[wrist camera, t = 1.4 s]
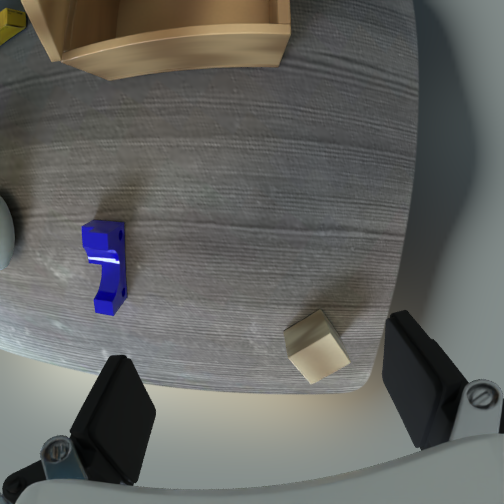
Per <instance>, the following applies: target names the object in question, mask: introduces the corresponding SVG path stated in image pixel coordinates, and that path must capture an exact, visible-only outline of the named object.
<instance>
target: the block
mask: <svg viewBox="0 0 504 504" xmlns="http://www.w3.org/2000/svg"><path fill="white" fill-rule="evenodd" d="M284 337H285V343H286V349H287V355H288V358H289V360H290V361H291V362H292V363H293V364H294V365H295V367H296V368H297V369H298V370H299V371H300V372H301V373H302V375H303V376H304V377H305V378H306V379H307V380H308V381H309V382H310V384H314V383H316V382H317V381H319V380H321V379H323V378H325V377H327V376H328V375H330V374H332V373H334V372H336V371H337V370H339V369H341V368H342V367H344V366H346V365H348V364H349V363H351V361H350V359H349V356H348V354H347V352H346V349H345V347H344V345H343V342H342V340H341V338H340V336H339V335H338V333H337V332H336V330H335V329H334V327H333V326H332V324H331V323H330V321H329V320H328V319H327V317H326V316H325V314H324V313H323V311H322V310H321V309H320V310H318V311H316V312H315V313H313V314H311V315H310V316H308V317H307V318H305V319H303V320H302V321H300V322H298V323H297V324H295V325H293V326H292V327H290V328H288V329H287V330H285V331H284Z"/></svg>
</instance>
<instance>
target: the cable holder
mask: <svg viewBox="0 0 504 504" xmlns="http://www.w3.org/2000/svg"><path fill="white" fill-rule="evenodd" d="M82 242H83V248H84V249H85V250H86V252H87V255H88V260H89V263H93V264H101V265H102V277H101V283H100V287H99V290H98V293H97V295H96V296H95V298H94V306H95V313H100V314H105V315H111V316H114V315H115V313H116V312H117V311H118V309H119V308H120V306H121V305H122V304H123V302H124V301H125V299H126V298H127V284H126V265H125V228H124V222H115V221H102V220H92V221H90V222H88V223H87V224H85V225H83V226H82Z"/></svg>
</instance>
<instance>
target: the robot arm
mask: <svg viewBox="0 0 504 504" xmlns="http://www.w3.org/2000/svg"><path fill="white" fill-rule="evenodd" d="M382 378H383V382H384V384H385V386H386V388H387V390H388V392H389V394H390V396H391V398H392V400H393V402H394V404H395V406H396V408H397V410H398V412H399V414H400V416H401V419H402V420H403V423H404V425H405V427H406V429H407V431H408V433H409V435H410V437H411V440H412V442H413V444H414V446H415V447H416V448H419V447H420V449H421V451H419V452H416V453H413V454H410V455H407V456H404V457H401V458H398V459H395V460H392V461H388V462H385V463H382V464H378V465H374V466H371V467H367V468H363V469H360V470H356V471H352V472H347V473H343V474H339V475H334V476H329V477H324V478H319V479H314V480H308V481H302V482H295V483H288V484H281V485H272V486H263V487H252V488H238V489H210V490H190V489H163V488H148V487H138V486H133V484H134V483H136V482H137V481H138V478H139V474H140V470H141V467H142V463H143V459H144V456H145V452H146V448H147V444H148V441H149V437H150V434H151V430H152V427H153V423H154V420H155V416H156V409H155V407H154V405H153V403H152V401H151V399H150V397H149V395H148V393H147V391H146V389H145V387H144V385H143V383H142V381H141V379H140V377H139V375H138V373H137V371H136V369H135V367H134V364H133V362H132V360H131V359H129V358H127V357H126V356H125V355H112V356H110V357H109V358H108V360H107V362H106V364H105V365H104V367H103V369H102V371H101V373H100V374H99V376H98V378H97V380H96V382H95V384H94V385H93V387H92V389H91V391H90V393H89V395H88V397H87V398H86V400H85V402H84V404H83V406H82V408H81V410H80V412H79V413H78V415H77V417H76V419H75V421H74V423H73V425H72V428H71V429H70V433H71V436H70V438H68V437H67V436H63V435H60V436H55V437H52V438H50V439H49V440H47V441H46V442H45V443H44V445H43V446H42V448H41V451H40V457H41V460H39V461H37V462H35V463H33V464H31V465H29V466H27V467H25V468H23V469H21V470H19V471H17V472H15V473H13V474H11V475H10V476H8V477H7V479H6V480H5V482H4V483H3V488H2V489H3V494H1V493H0V504H504V399H503V393H502V391H501V388H500V387H499V386H498V385H497V384H496V383H494V382H492V381H489V380H486V379H478V380H474V381H472V382H470V383H469V382H468V381H467V380H466V379H465V377H464V376H463V375H462V373H461V372H460V371H459V370H458V368H457V367H456V366H455V365H454V363H453V362H452V361H451V359H450V358H449V357H448V356H447V354H446V353H445V352H444V351H443V350H442V348H441V347H440V346H439V345H438V343H437V342H436V341H435V340H434V339H430V337H429V336H428V335H427V334H426V333H425V331H424V330H423V329H422V328H421V326H420V325H419V324H418V323H417V322H416V321H415V319H413V317H412V316H411V315H410V314H409V312H408V311H407V310H403V311H399V312H395V313H392V314H391V315H390V318H388V319H386V328H385V345H384V359H383V370H382Z"/></svg>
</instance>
